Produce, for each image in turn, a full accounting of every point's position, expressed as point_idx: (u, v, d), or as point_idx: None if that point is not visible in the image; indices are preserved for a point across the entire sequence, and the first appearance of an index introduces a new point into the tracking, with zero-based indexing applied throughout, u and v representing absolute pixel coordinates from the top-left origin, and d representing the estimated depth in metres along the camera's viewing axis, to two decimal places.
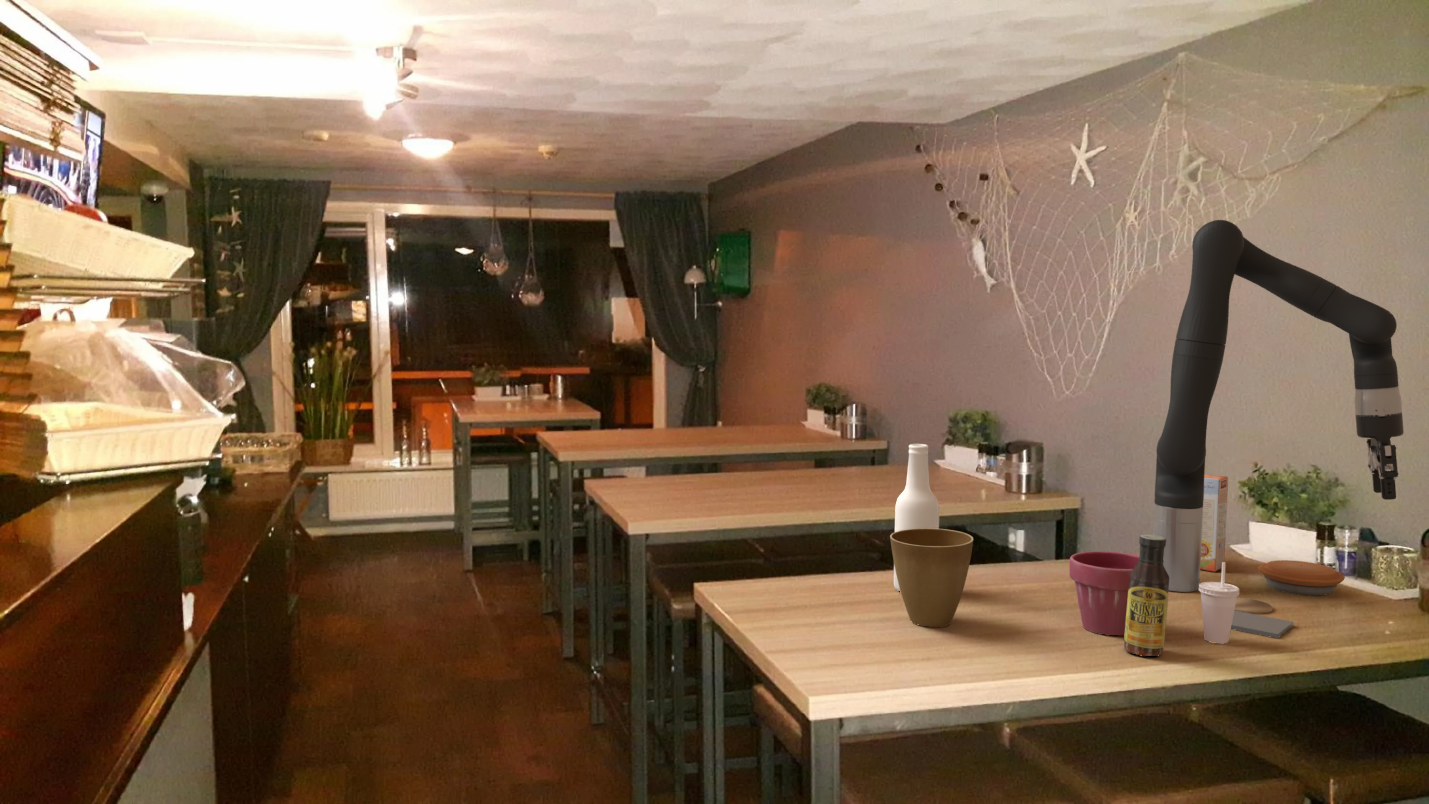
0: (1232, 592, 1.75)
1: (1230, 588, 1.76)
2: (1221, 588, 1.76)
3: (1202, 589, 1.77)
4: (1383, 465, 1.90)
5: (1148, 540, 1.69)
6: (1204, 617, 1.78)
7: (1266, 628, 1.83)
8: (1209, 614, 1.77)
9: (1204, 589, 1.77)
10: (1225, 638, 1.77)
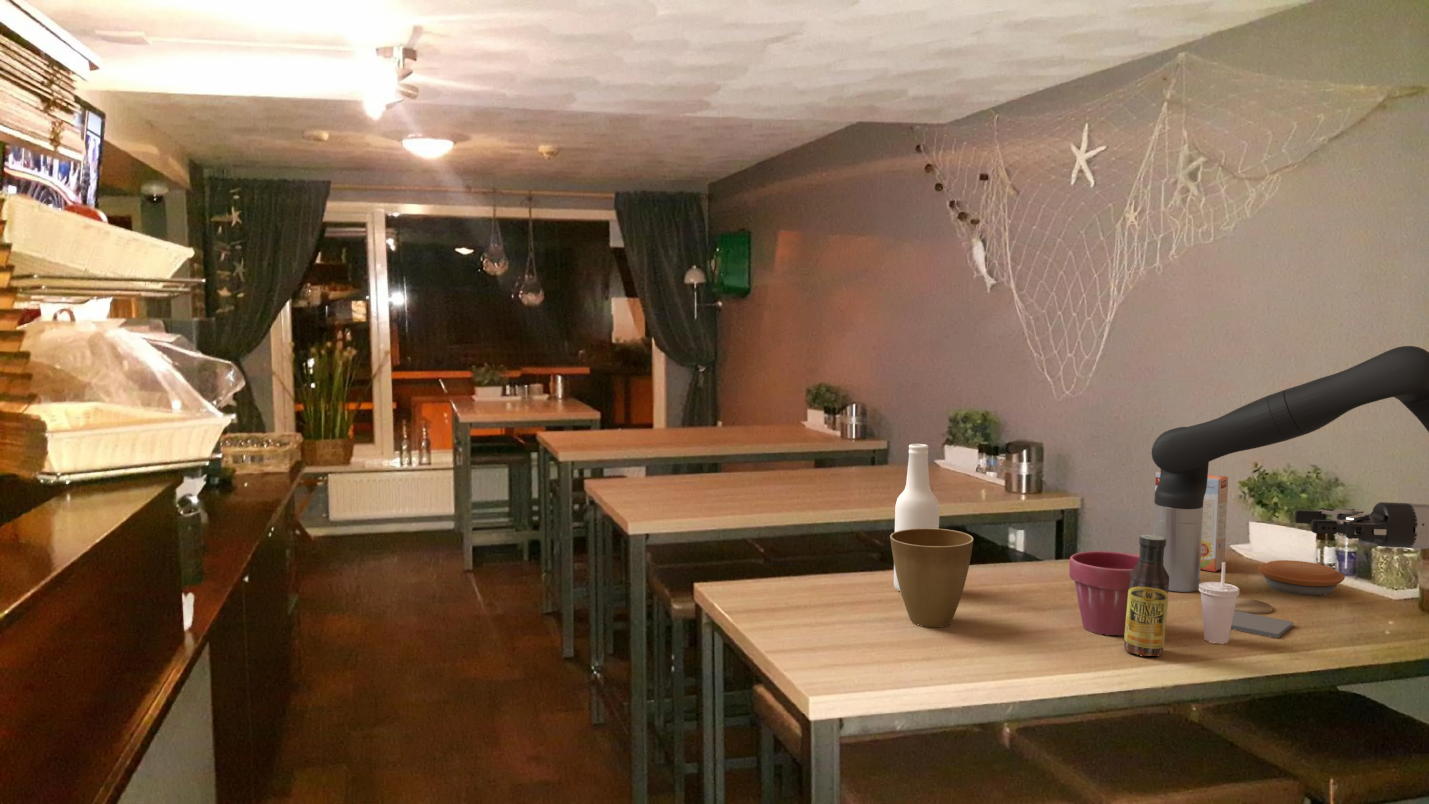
0: (1232, 592, 1.75)
1: (1230, 588, 1.76)
2: (1221, 588, 1.76)
3: (1202, 589, 1.77)
4: (1363, 525, 1.68)
5: (1148, 540, 1.69)
6: (1204, 617, 1.78)
7: (1266, 628, 1.83)
8: (1209, 614, 1.77)
9: (1204, 589, 1.77)
10: (1225, 638, 1.77)
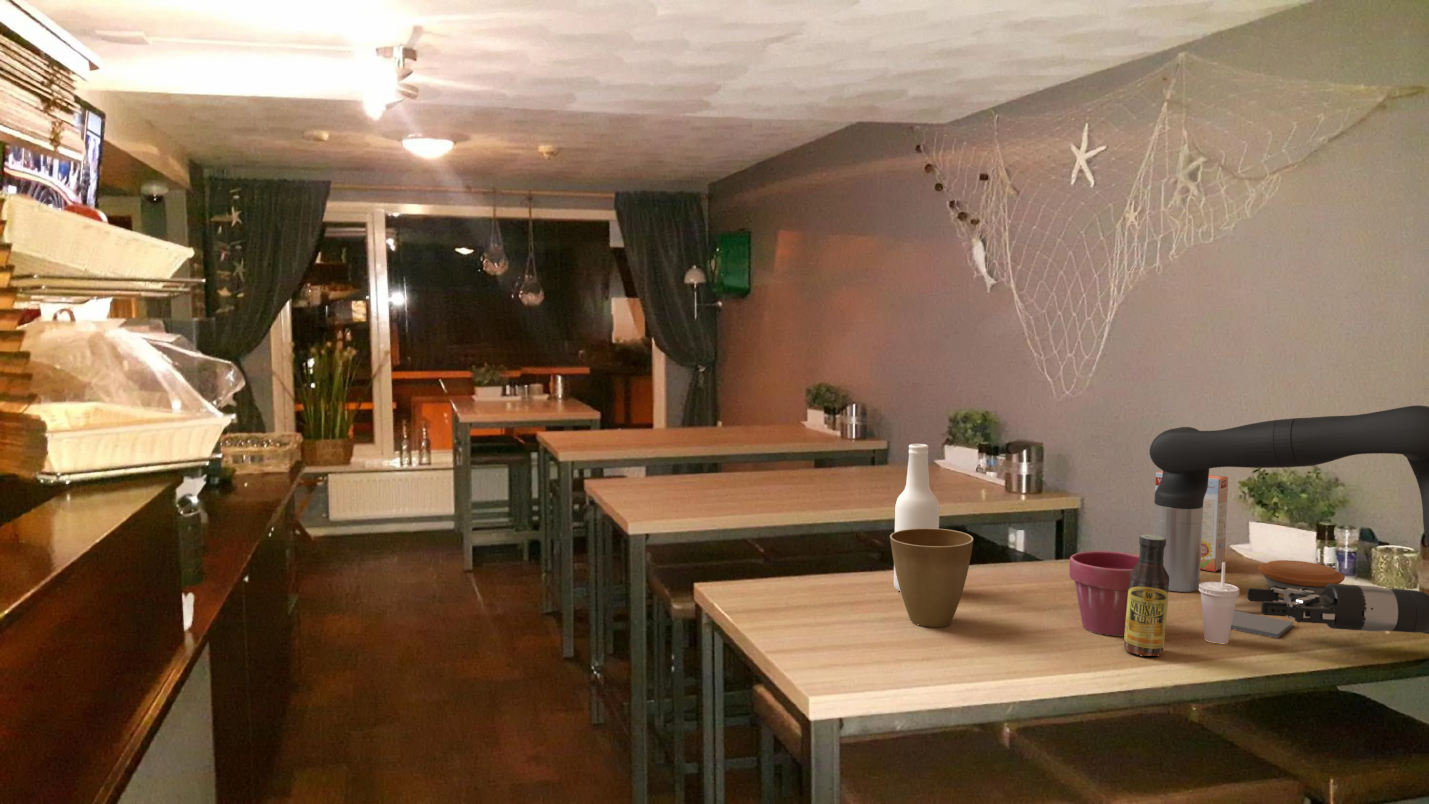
0: (1232, 592, 1.75)
1: (1230, 588, 1.76)
2: (1221, 588, 1.76)
3: (1202, 589, 1.77)
4: (1312, 610, 1.68)
5: (1148, 540, 1.69)
6: (1204, 617, 1.78)
7: (1266, 628, 1.83)
8: (1209, 614, 1.77)
9: (1204, 589, 1.77)
10: (1225, 638, 1.77)
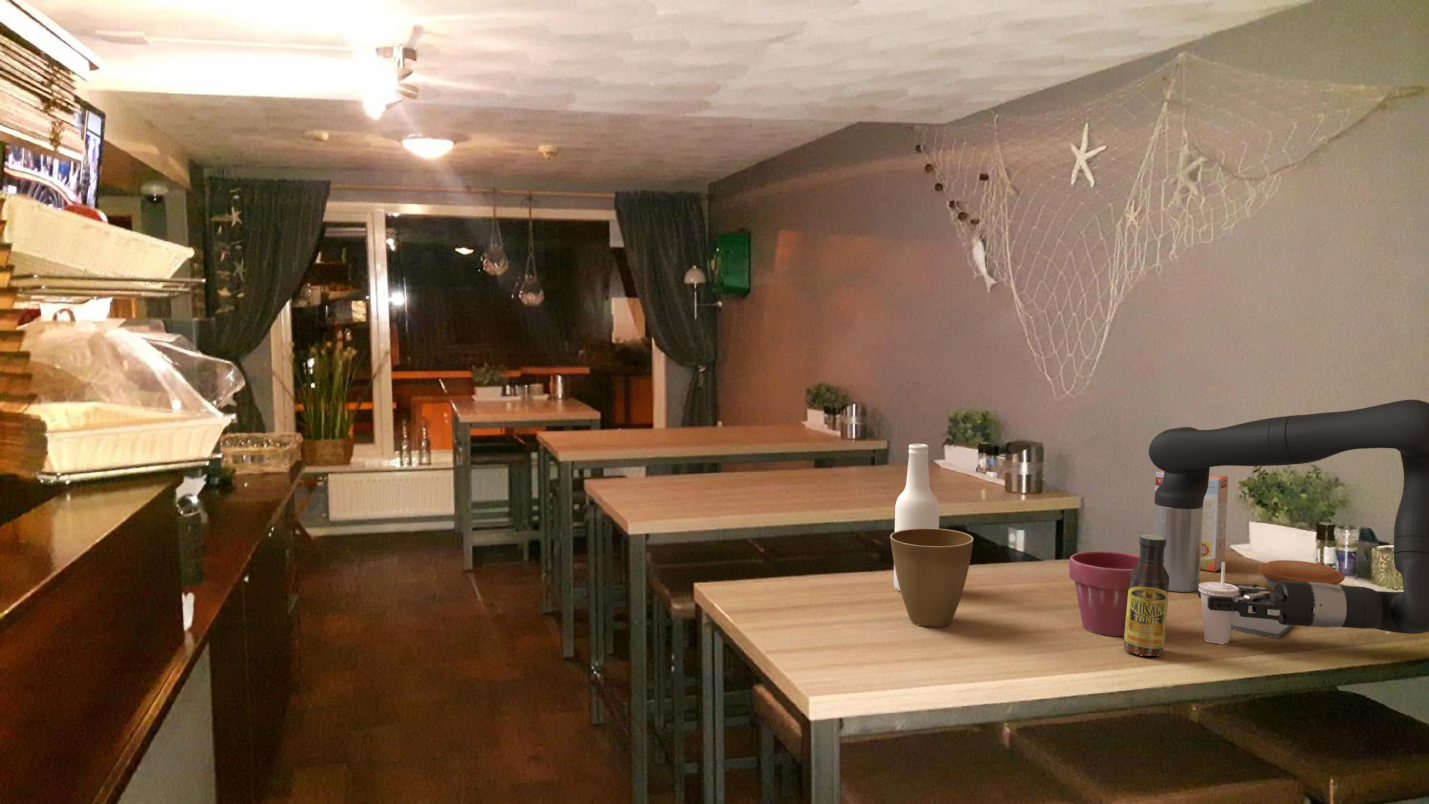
0: (1232, 592, 1.75)
1: (1230, 588, 1.76)
2: (1221, 588, 1.76)
3: (1202, 589, 1.77)
4: (1256, 605, 1.70)
5: (1148, 540, 1.69)
6: (1204, 617, 1.78)
7: (1266, 628, 1.83)
8: (1209, 614, 1.77)
9: (1204, 589, 1.77)
10: (1225, 638, 1.76)
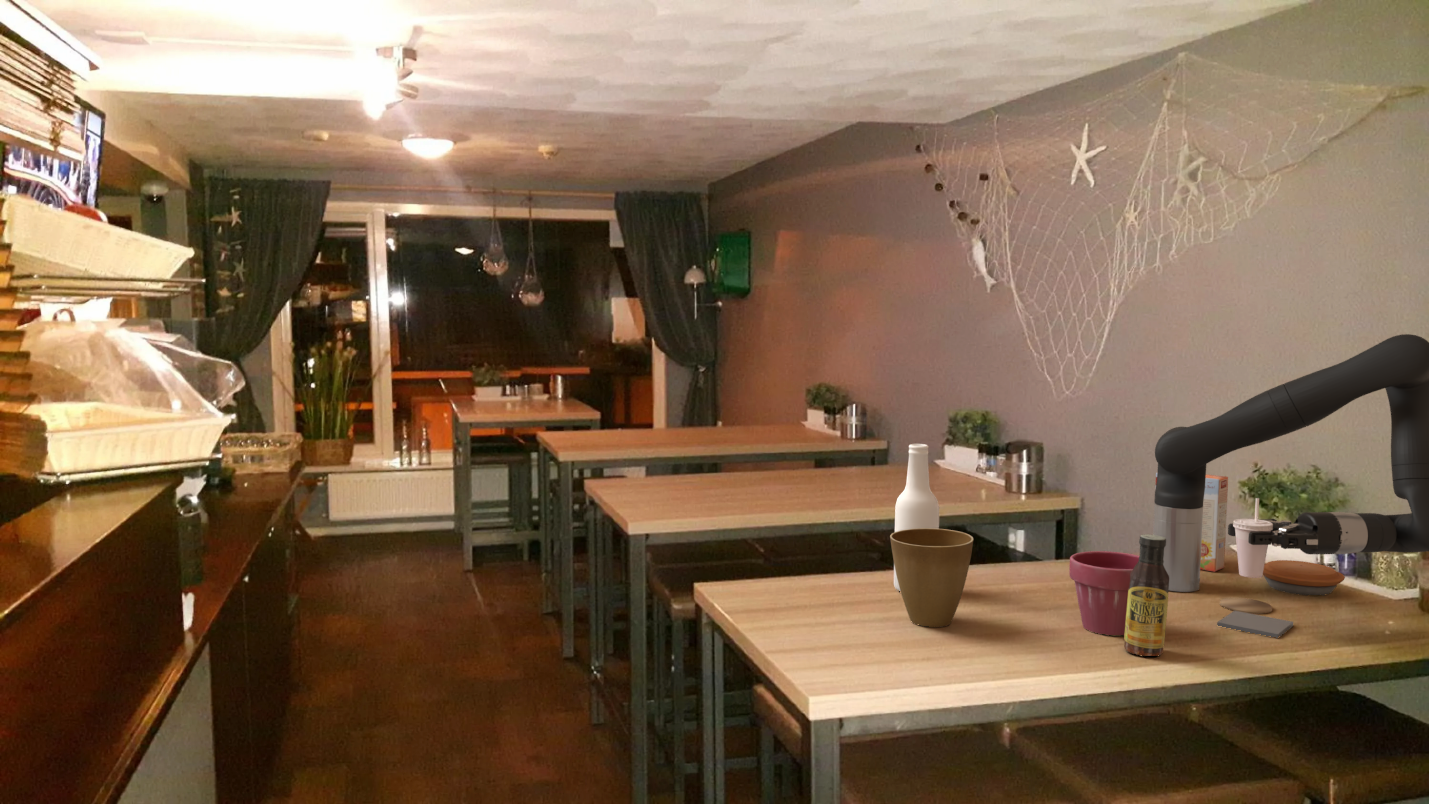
0: (1269, 526, 1.81)
1: (1264, 523, 1.83)
2: (1257, 523, 1.82)
3: (1240, 526, 1.83)
4: (1297, 536, 1.77)
5: (1148, 540, 1.69)
6: (1241, 553, 1.83)
7: (1266, 628, 1.83)
8: (1247, 550, 1.82)
9: (1242, 525, 1.82)
10: (1262, 571, 1.83)
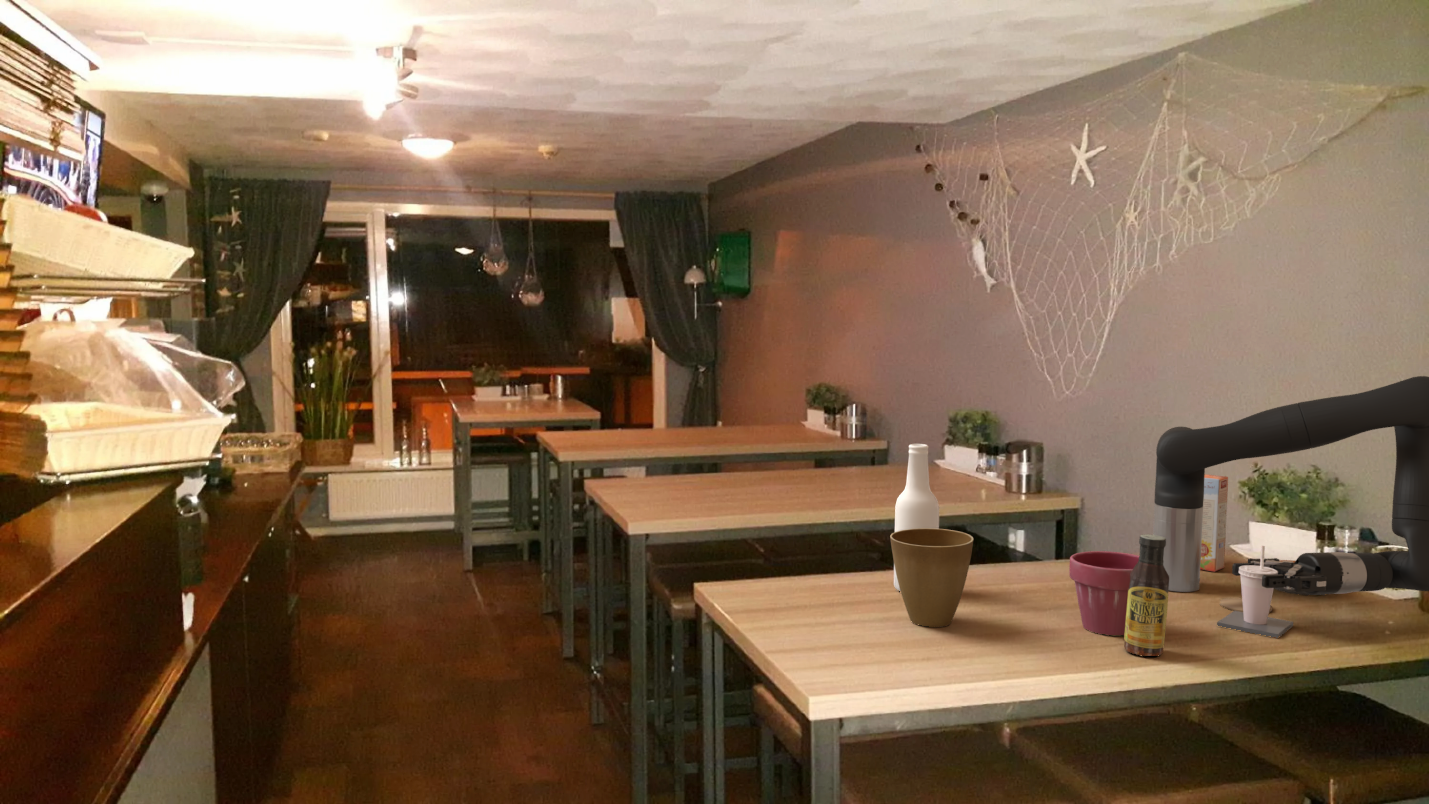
0: (1275, 574, 1.84)
1: (1270, 570, 1.85)
2: (1263, 571, 1.85)
3: (1247, 573, 1.85)
4: (1309, 579, 1.80)
5: (1148, 540, 1.69)
6: (1247, 600, 1.86)
7: (1266, 628, 1.83)
8: (1254, 597, 1.85)
9: (1250, 573, 1.84)
10: (1266, 618, 1.86)
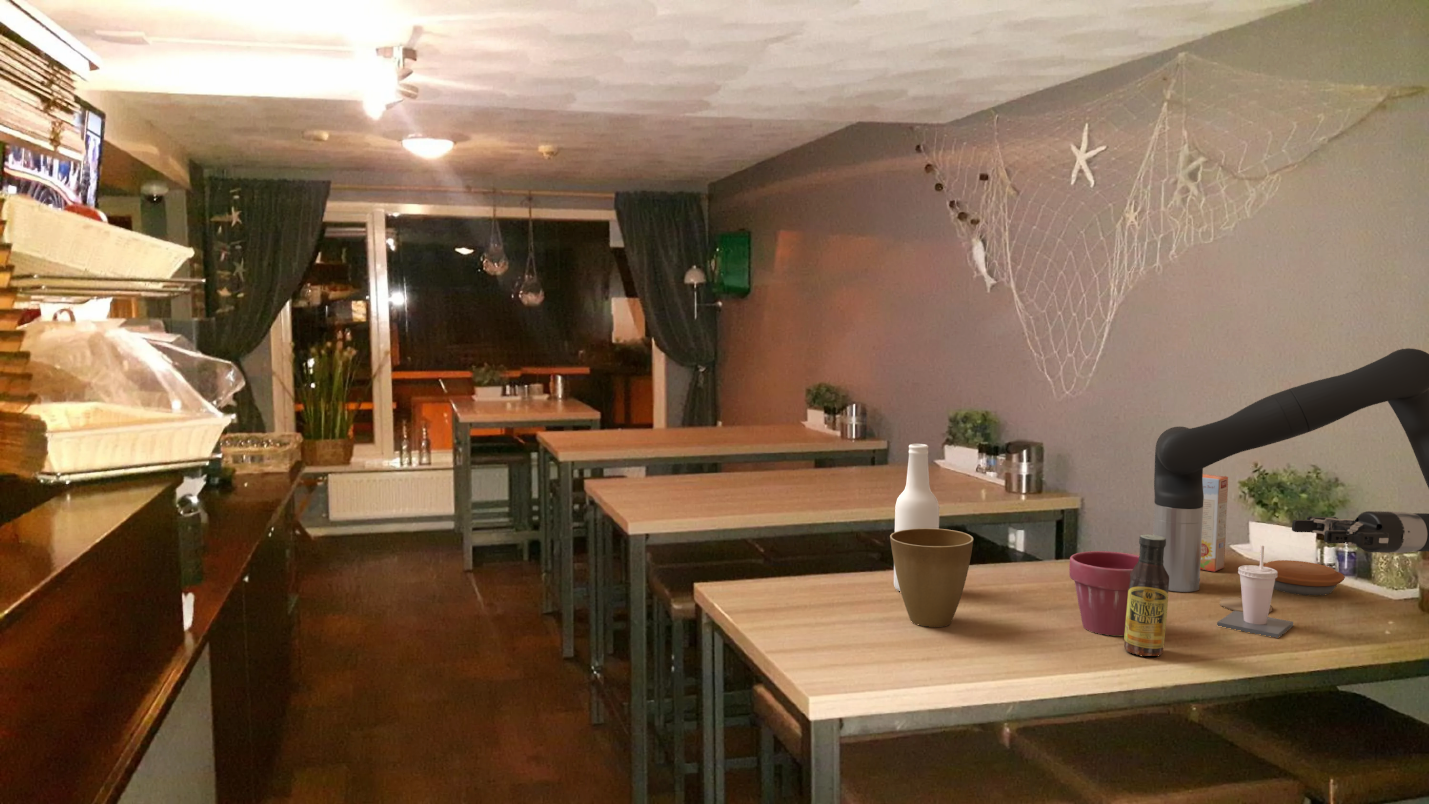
0: (1275, 574, 1.84)
1: (1269, 570, 1.85)
2: (1263, 571, 1.85)
3: (1246, 573, 1.85)
4: (1372, 535, 1.81)
5: (1148, 540, 1.69)
6: (1247, 600, 1.86)
7: (1266, 628, 1.83)
8: (1253, 597, 1.85)
9: (1249, 573, 1.84)
10: (1266, 618, 1.86)
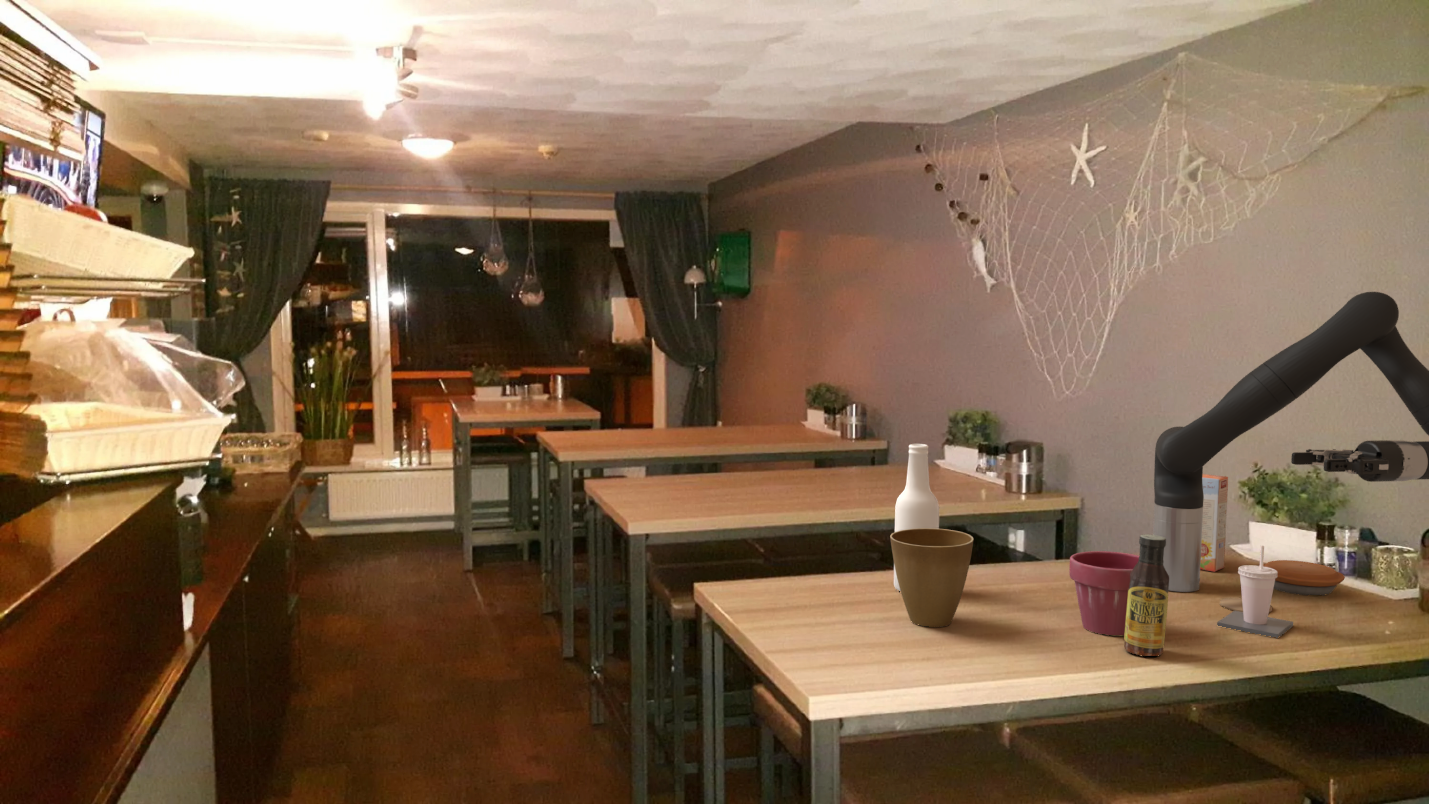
0: (1275, 574, 1.84)
1: (1269, 570, 1.85)
2: (1263, 571, 1.85)
3: (1246, 573, 1.85)
4: (1372, 462, 1.80)
5: (1148, 540, 1.69)
6: (1247, 600, 1.86)
7: (1266, 628, 1.83)
8: (1253, 597, 1.85)
9: (1249, 573, 1.84)
10: (1266, 618, 1.86)
